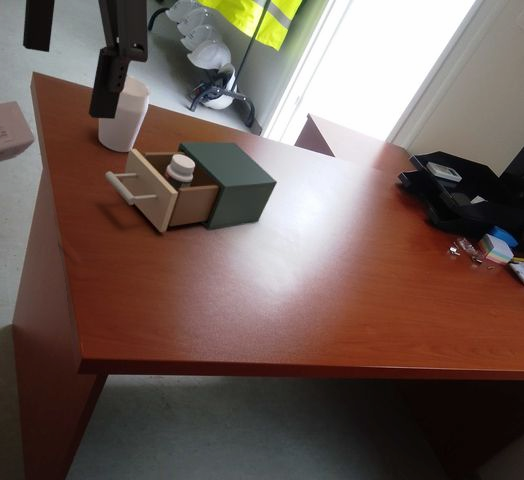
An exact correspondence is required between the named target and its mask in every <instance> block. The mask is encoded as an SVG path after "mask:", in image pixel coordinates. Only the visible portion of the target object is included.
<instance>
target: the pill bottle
mask: <svg viewBox="0 0 524 480" xmlns="http://www.w3.org/2000/svg"><path fill="white" fill-rule="evenodd" d="M194 167H195V163H194V162H193V161H192V160H191V159H190V158H188V157H186V156H184V155H179V154H177V155H174V156H173V158H172V161H171V164H170V165H168V167H167V169H166V172H165V176H164V179H165V180H166V181H167V182H168V183H169V184H170V185H171V186H172V187H173V188H174V189H175V190H176V191H177V192H178V189H179V188H187V187H190V184H191V182H192V179H193V175H192V172H193V171H194Z"/></svg>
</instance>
